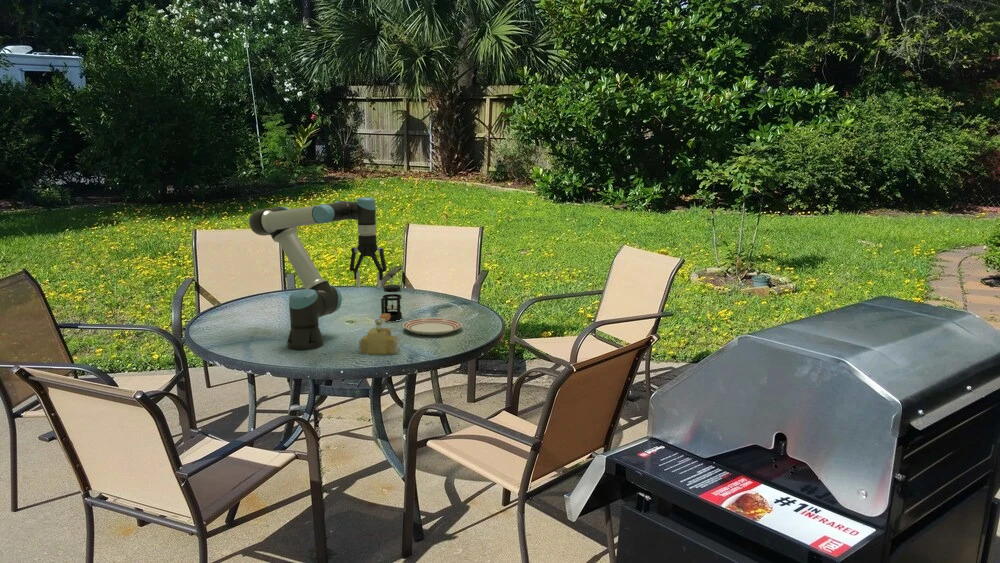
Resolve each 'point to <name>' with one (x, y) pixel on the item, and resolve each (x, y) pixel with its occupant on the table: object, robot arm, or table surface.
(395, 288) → the french press
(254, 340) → the table surface
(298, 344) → the robot arm
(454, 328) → the dinner plate
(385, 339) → the valve pipe
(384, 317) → the valve lever
